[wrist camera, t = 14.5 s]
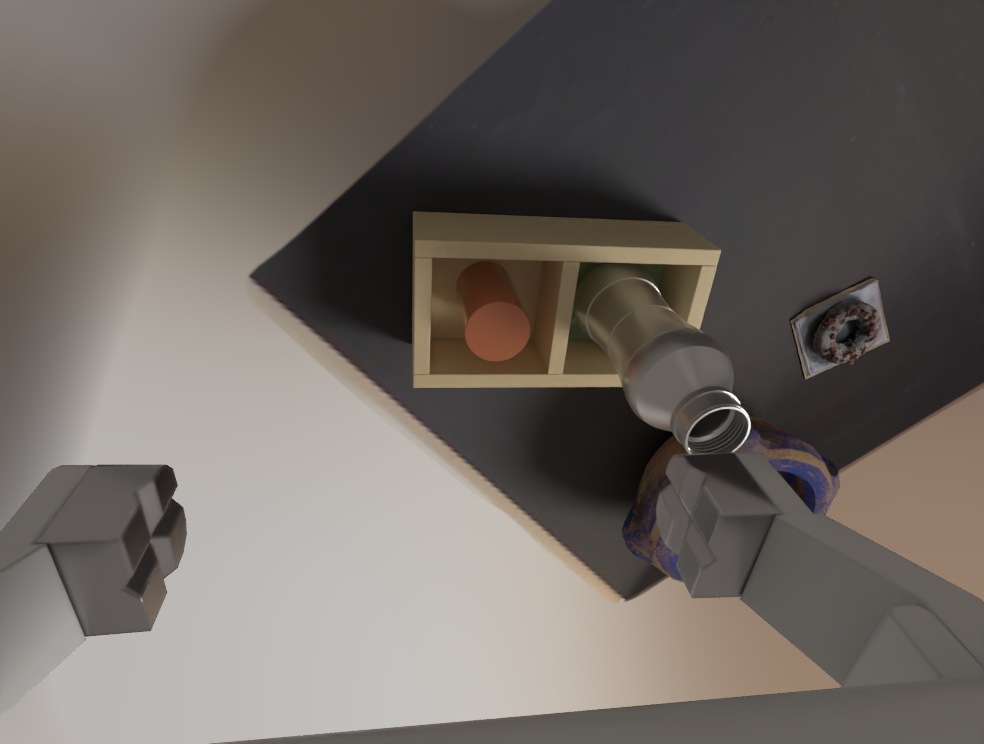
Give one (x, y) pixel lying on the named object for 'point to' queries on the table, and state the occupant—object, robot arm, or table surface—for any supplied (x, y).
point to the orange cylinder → (491, 312)
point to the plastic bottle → (662, 359)
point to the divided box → (541, 291)
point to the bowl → (781, 448)
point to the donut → (840, 328)
